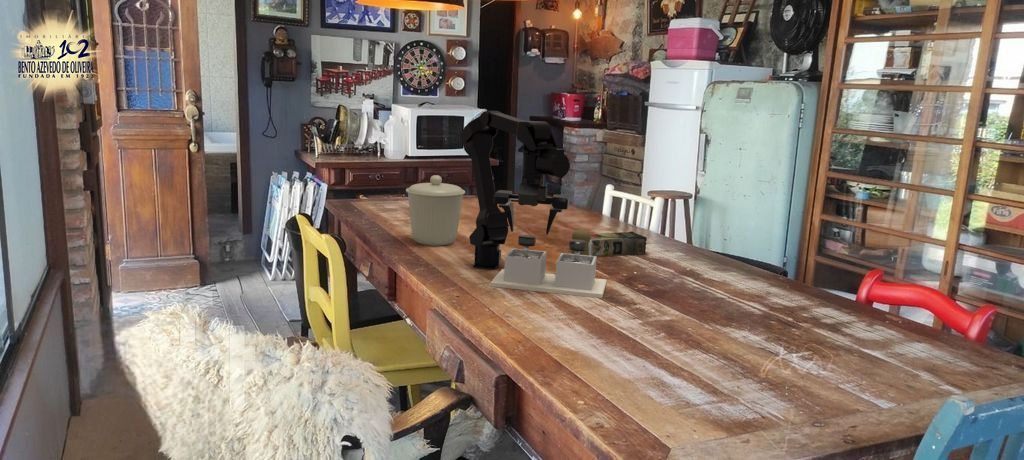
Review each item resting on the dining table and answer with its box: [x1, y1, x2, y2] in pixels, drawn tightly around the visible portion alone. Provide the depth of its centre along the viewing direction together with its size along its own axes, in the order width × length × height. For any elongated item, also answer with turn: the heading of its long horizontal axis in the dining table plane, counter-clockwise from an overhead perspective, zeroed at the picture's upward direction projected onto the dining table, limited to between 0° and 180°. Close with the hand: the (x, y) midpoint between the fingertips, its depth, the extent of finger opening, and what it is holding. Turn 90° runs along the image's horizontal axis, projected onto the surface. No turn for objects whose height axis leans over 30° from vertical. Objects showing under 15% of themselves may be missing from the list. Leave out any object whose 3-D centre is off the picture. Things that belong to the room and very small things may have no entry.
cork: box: [570, 229, 591, 256], centre depth 203 cm, size 6×6×11 cm
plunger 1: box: [513, 234, 539, 259], centre depth 186 cm, size 7×7×6 cm
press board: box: [490, 248, 608, 299], centre depth 186 cm, size 28×14×8 cm, turn 79°
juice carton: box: [588, 231, 648, 258], centre depth 225 cm, size 20×10×6 cm, turn 110°
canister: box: [405, 174, 466, 247], centre depth 225 cm, size 18×18×21 cm
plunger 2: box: [563, 239, 590, 264], centre depth 183 cm, size 7×7×6 cm
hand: (529, 232), depth 185 cm, fingers open, 9 cm apart
